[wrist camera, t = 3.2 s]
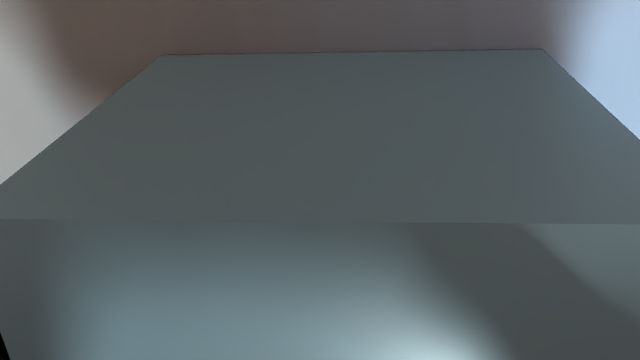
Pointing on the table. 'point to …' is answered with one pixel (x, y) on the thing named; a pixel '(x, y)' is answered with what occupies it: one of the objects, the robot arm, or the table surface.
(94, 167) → the smooth grey cuboid
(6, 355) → the robot arm
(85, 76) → the table surface
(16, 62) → the table surface
